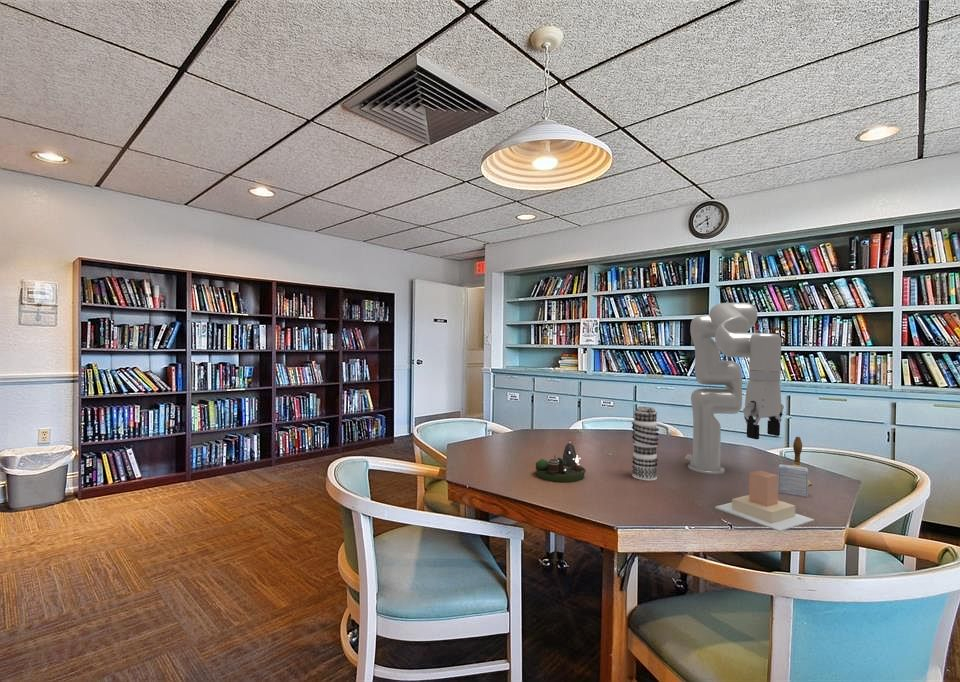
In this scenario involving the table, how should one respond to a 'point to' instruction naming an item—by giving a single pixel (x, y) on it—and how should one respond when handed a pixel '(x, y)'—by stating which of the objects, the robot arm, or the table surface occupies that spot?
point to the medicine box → (793, 480)
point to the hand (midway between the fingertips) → (763, 436)
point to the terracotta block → (763, 488)
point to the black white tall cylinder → (645, 444)
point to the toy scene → (561, 467)
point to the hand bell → (798, 453)
